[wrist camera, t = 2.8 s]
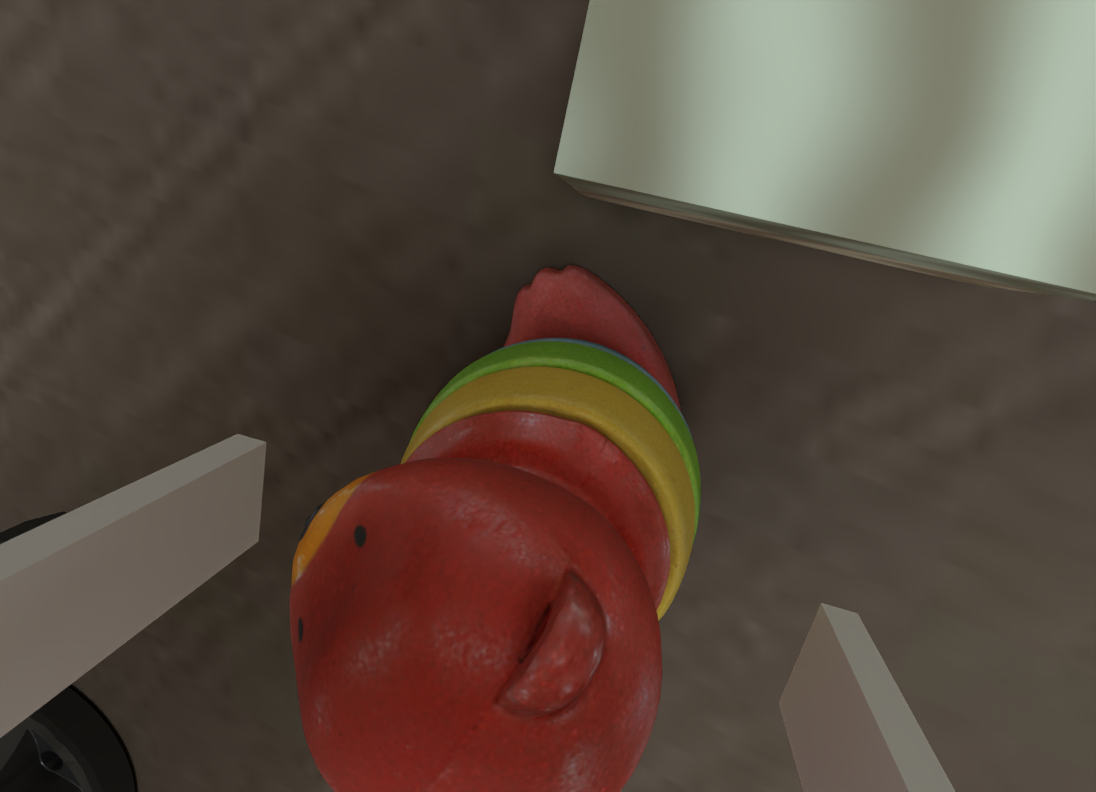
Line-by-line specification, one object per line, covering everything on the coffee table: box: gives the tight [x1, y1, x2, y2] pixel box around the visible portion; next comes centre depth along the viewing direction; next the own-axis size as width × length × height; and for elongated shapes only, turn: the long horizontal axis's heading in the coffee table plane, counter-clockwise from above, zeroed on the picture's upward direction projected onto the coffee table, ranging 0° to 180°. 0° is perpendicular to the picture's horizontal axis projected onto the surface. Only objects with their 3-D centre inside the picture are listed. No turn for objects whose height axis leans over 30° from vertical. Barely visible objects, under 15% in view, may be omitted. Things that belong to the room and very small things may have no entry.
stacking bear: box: [289, 265, 701, 792], centre depth 17 cm, size 11×10×18 cm
